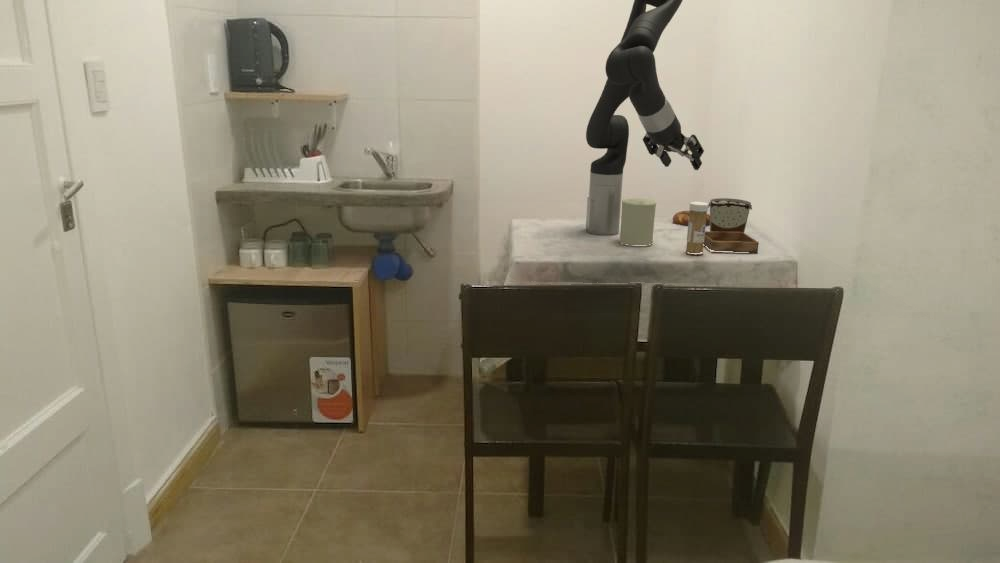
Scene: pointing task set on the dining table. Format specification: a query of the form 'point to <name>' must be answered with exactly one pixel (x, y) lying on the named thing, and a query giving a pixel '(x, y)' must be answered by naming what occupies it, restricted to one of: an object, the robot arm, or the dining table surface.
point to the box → (730, 242)
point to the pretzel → (686, 218)
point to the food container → (728, 214)
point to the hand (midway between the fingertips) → (683, 165)
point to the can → (637, 221)
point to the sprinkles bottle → (696, 227)
